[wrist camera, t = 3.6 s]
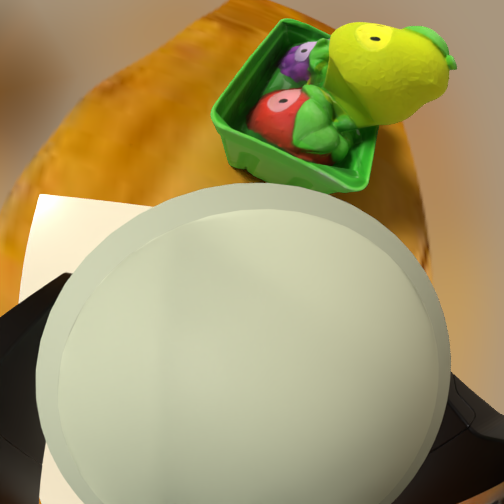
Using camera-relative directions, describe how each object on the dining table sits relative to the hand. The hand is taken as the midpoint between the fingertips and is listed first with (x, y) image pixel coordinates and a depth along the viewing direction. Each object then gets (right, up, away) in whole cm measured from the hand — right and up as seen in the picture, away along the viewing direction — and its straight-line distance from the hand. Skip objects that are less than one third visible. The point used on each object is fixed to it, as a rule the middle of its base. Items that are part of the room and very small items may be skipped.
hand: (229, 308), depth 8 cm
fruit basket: (+4, +9, +10) cm, 14 cm away
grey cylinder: (-1, -2, +5) cm, 6 cm away
